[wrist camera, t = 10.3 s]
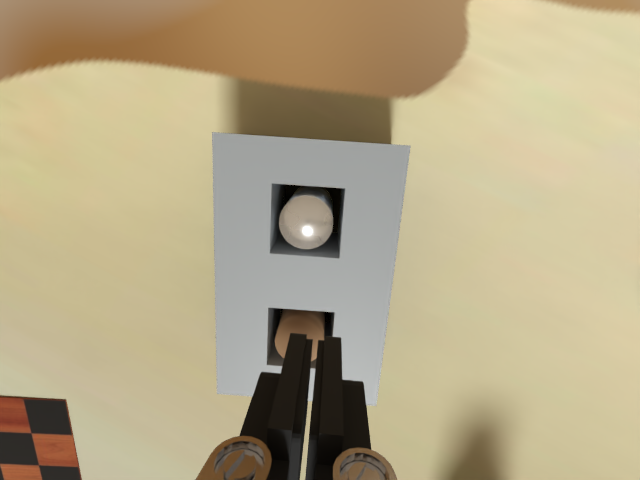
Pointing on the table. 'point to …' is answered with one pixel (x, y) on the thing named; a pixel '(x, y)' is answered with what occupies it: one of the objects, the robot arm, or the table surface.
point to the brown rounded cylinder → (300, 328)
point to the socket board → (303, 252)
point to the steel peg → (307, 217)
